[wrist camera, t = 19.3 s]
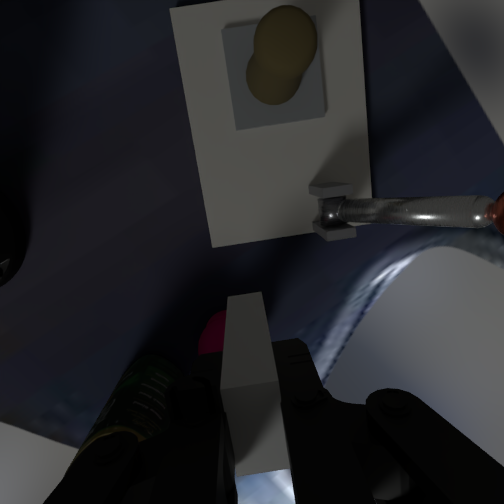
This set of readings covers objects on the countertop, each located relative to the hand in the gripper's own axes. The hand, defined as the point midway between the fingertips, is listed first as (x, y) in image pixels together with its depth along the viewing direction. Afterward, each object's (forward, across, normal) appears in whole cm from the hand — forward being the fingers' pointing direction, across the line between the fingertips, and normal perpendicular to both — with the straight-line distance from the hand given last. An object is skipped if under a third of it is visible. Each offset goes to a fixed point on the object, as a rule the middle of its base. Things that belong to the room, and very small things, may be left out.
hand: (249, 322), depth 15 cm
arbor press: (+28, +6, +10) cm, 31 cm away
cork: (+26, +6, +16) cm, 31 cm away
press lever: (+24, +9, +1) cm, 25 cm away
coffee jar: (+29, -16, -20) cm, 38 cm away
